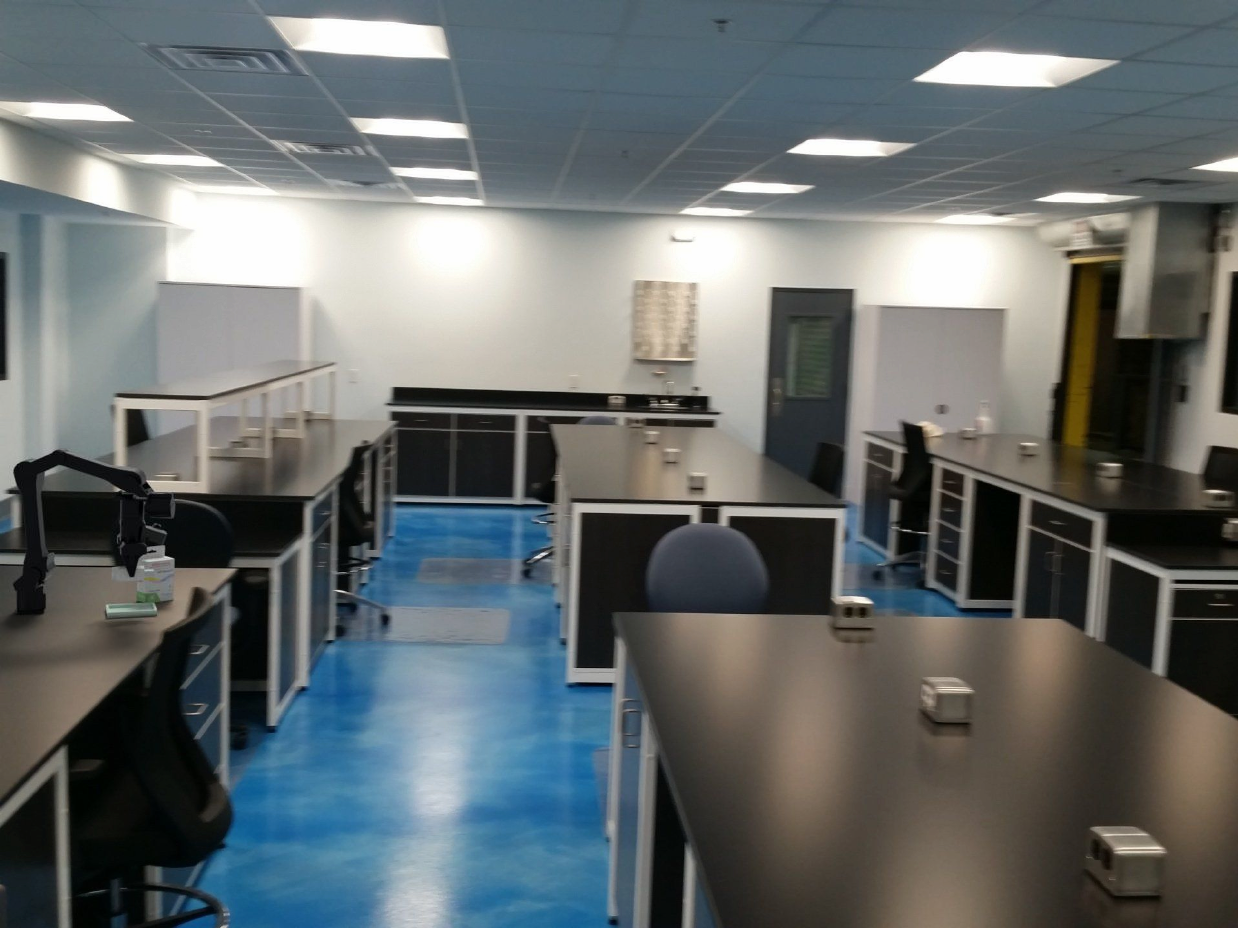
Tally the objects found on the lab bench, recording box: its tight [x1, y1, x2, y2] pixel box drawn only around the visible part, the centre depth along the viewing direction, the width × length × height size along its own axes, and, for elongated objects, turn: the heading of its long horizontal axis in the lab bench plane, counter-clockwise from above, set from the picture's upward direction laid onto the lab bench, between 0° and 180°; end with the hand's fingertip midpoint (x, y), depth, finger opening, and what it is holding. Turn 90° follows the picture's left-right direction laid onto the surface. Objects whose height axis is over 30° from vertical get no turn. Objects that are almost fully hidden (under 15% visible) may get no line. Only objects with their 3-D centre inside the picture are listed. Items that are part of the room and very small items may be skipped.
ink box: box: [136, 544, 175, 603], centre depth 326 cm, size 9×5×15 cm, turn 143°
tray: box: [105, 602, 158, 619], centre depth 312 cm, size 12×9×1 cm
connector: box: [111, 565, 154, 582], centre depth 311 cm, size 10×4×3 cm, turn 116°
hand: (131, 575), depth 311 cm, fingers closed on connector, 4 cm apart
